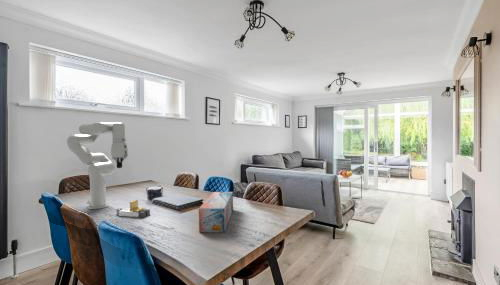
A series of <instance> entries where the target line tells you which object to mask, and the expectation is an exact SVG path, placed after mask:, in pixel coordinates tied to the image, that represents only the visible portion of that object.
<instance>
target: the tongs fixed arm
mask: <svg viewBox="0 0 500 285" xmlns="http://www.w3.org/2000/svg"><path fill="white" fill-rule="evenodd" d="M122 210H130V207H125V208H122ZM141 211H146V216H145V217H148V216H150V215H151V209H147V208H145V209H143V210H141Z"/></svg>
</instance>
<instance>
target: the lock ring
mask: <svg viewBox="0 0 500 285" xmlns="http://www.w3.org/2000/svg"><path fill="white" fill-rule="evenodd" d="M129 208H130V211H133V212H139V211H141V210H143V209H146V207H142V206H141V207H140V206H139V199H135V200H131V201H130V202H129Z"/></svg>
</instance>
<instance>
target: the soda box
mask: <svg viewBox="0 0 500 285" xmlns="http://www.w3.org/2000/svg"><path fill="white" fill-rule="evenodd" d="M233 211H234V194H233V191H213V192H212V193H211V194H210V195H209V197H208V198H207V199H206V200H205V201H204V202H203V203H202V205H200V207H199V208H198V232H199V233H225V231H226V229H227V227H228V224H229V221H230V219H231V216H232V213H233Z"/></svg>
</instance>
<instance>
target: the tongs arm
mask: <svg viewBox="0 0 500 285" xmlns="http://www.w3.org/2000/svg"><path fill="white" fill-rule="evenodd" d="M116 215H117V216H118V217H132V218H141V219H142V218H145V217H147V216H146V211H139V212H133V211H130V210H123V208H116Z"/></svg>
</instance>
